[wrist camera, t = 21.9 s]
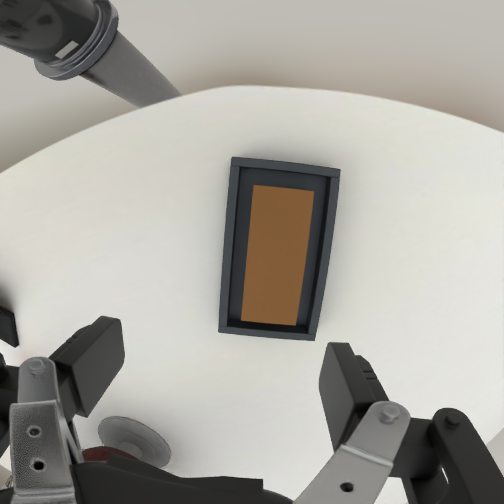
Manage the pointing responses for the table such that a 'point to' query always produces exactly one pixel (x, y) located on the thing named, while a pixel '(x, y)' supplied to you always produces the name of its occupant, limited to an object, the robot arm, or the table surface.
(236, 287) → the holder
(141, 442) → the mate gourd
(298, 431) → the table surface
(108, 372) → the robot arm
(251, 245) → the eraser
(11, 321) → the handheld gaming console
